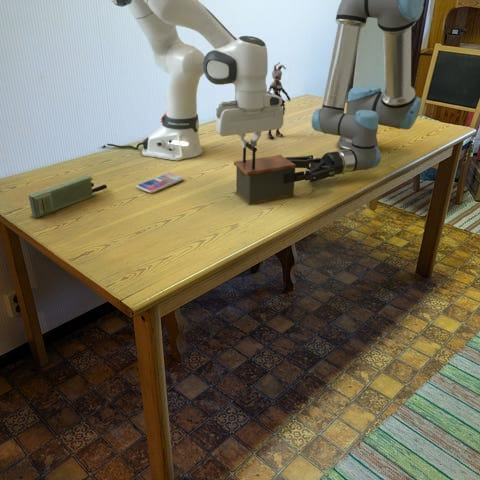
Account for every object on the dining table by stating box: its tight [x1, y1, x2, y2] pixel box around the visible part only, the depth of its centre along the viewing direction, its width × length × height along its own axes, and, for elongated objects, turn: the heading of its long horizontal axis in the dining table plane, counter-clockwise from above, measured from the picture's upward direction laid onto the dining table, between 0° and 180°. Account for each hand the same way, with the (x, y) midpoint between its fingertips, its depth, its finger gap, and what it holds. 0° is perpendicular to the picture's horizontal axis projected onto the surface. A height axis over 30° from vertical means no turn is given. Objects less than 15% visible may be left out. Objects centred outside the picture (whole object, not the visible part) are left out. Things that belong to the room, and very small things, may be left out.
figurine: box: [267, 61, 291, 140], centre depth 201 cm, size 15×6×30 cm, turn 132°
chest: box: [235, 167, 296, 205], centre depth 156 cm, size 15×9×10 cm, turn 115°
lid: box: [233, 142, 295, 175], centre depth 152 cm, size 16×9×8 cm, turn 115°
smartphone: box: [136, 172, 184, 194], centre depth 164 cm, size 7×1×15 cm
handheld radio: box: [28, 173, 108, 219], centre depth 150 cm, size 7×3×25 cm
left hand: (249, 146), depth 148 cm, fingers closed on lid
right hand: (277, 173), depth 157 cm, fingers closed on chest, 9 cm apart
